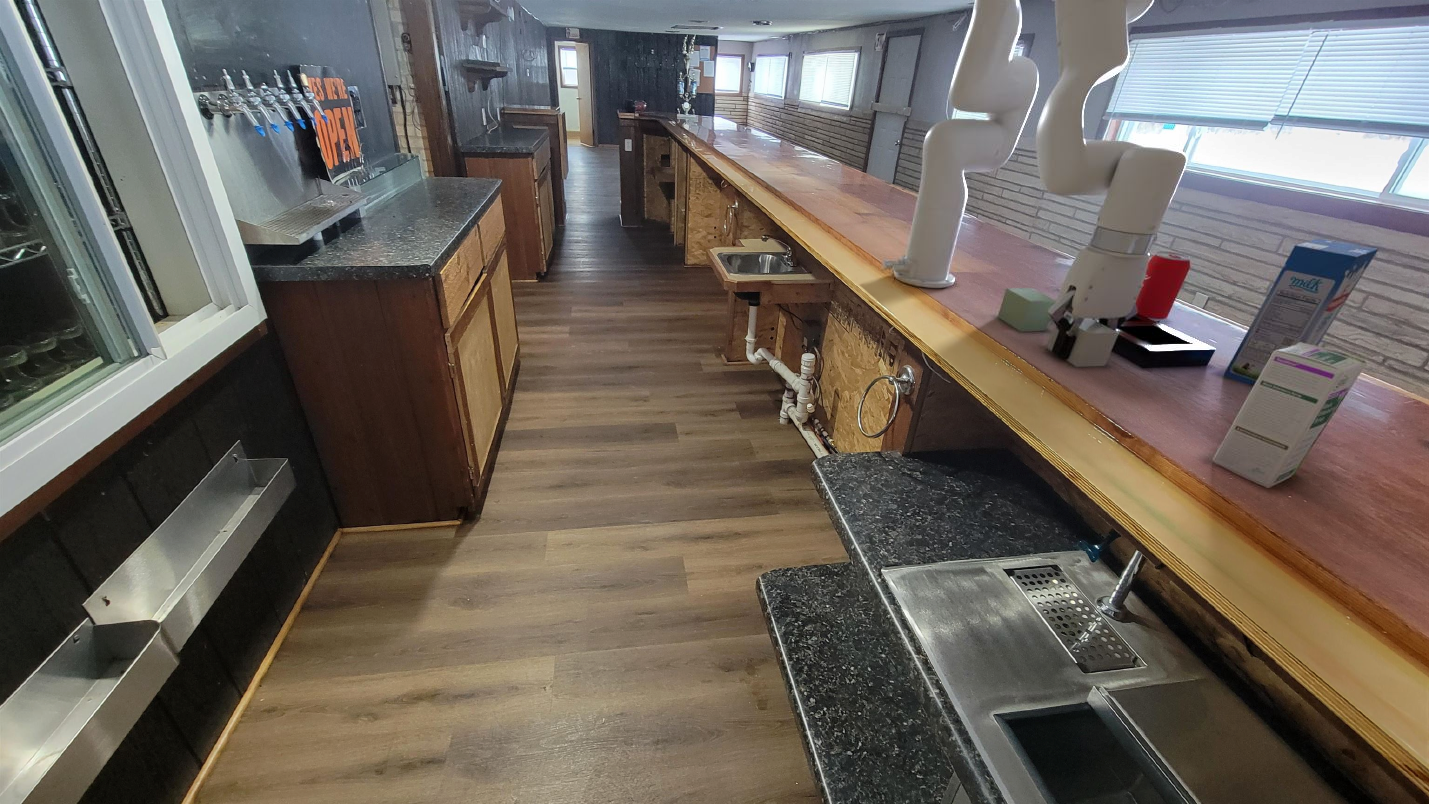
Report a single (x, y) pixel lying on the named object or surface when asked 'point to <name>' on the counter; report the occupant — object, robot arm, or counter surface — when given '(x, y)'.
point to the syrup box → (1287, 412)
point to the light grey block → (1089, 343)
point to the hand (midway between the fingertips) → (1075, 354)
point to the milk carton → (1300, 302)
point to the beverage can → (1162, 284)
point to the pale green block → (1026, 309)
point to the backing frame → (1158, 345)
